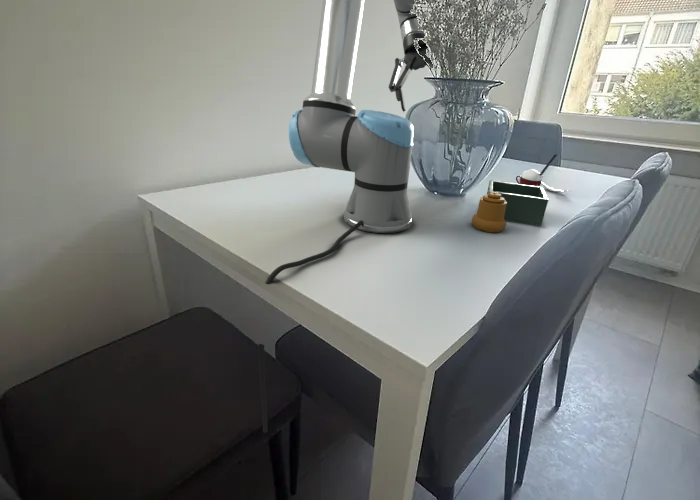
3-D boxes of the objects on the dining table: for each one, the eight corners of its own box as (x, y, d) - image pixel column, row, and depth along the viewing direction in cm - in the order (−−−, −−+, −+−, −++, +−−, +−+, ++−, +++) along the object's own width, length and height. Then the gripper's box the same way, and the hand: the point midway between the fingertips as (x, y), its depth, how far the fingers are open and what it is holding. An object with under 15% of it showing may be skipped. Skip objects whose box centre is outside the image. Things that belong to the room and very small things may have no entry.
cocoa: (510, 186, 125) (519, 148, 120) (525, 185, 127) (534, 148, 122) (534, 195, 117) (544, 155, 112) (549, 193, 120) (560, 154, 115)
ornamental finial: (500, 236, 85) (466, 228, 88) (507, 226, 90) (475, 219, 94) (509, 201, 81) (473, 194, 85) (515, 193, 87) (482, 187, 91)
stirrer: (578, 183, 117) (566, 184, 115) (575, 195, 118) (563, 195, 117) (530, 171, 134) (519, 172, 133) (528, 182, 136) (517, 182, 134)
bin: (541, 226, 92) (548, 199, 89) (483, 217, 96) (489, 191, 93) (536, 211, 102) (543, 187, 100) (484, 203, 106) (489, 180, 103)
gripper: (456, 33, 121) (467, 97, 119) (378, 58, 129) (388, 119, 126) (454, 18, 114) (467, 85, 111) (373, 45, 121) (383, 109, 119)
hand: (425, 103), depth 119 cm, fingers open, 13 cm apart
